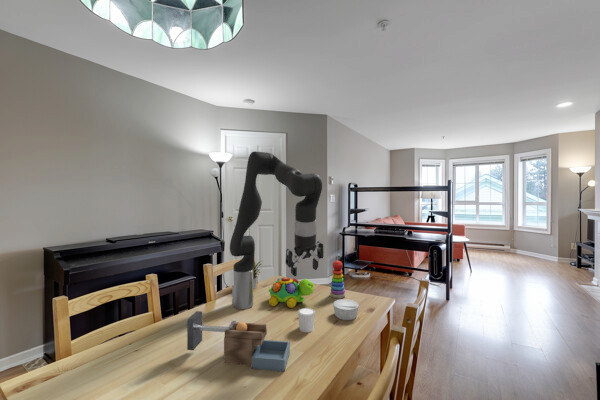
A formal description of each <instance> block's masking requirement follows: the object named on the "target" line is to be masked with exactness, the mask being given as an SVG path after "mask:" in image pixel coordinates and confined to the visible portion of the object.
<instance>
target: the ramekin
mask: <svg viewBox="0 0 600 400" xmlns="http://www.w3.org/2000/svg"><path fill="white" fill-rule="evenodd" d="M332 306H333V310H334V312H333V313H334V315H335V317H336V318H337V319H340V320H342V321H343V320H344V321H352V320H355V319H356V318H357V316H358V313H359V312H358V311H359V308H360V305H359V303H358V302H356V301H355V300H353V299H345V298H339V299H337V300H335V301H333V304H332Z"/></svg>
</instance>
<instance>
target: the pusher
mask: <svg viewBox="0 0 600 400" xmlns="http://www.w3.org/2000/svg"><path fill="white" fill-rule="evenodd" d="M231 322H232V323H231ZM231 322H230V324H229V325H228V326H219V325H218V326H217V325H205V324H204V325H203V311H202V310H201V311H199V310H196V311H195V312H193V314H191V316H189V317H188V318H187V320H186V327H187V333H186V334H187V335H186V337H187V339H186V343H187V351H194V350H195V349H196V348H197V347H198V346H199V345H200V344H201V342H203V332H219V333H225V330H236V322H237V320H232V321H231Z"/></svg>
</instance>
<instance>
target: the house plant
mask: <svg viewBox="0 0 600 400" xmlns="http://www.w3.org/2000/svg"><path fill="white" fill-rule="evenodd" d="M263 261H264V260H260V261H258V262H255V260H254V265H253V290H255V289H256V288H257V284H258V277H259V275H260V274H261V271H260V270H261V269H262V267H261V265H262V263H261V262H263ZM260 267H261V268H260ZM257 275H258V276H257Z"/></svg>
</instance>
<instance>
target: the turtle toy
mask: <svg viewBox="0 0 600 400" xmlns="http://www.w3.org/2000/svg"><path fill="white" fill-rule="evenodd" d="M268 292H269V295H270V298H269V299H268V303H269V305H270V306H271V307H276V306H277V305H278V304H279V302H280V303H286V305H287V307H288V308H290V309H293V308H295V306H296V305H297V303H303V302H304V301H305V299H304V296H306V297H307V296H310V295H312V294H313V293H314V292H315V287H314V282H312V281H310V280H309V279H307V278H302V279H301V280H300V281H299V280H298V279H296V278H292V279H291V277H289V276H285V277H279V278H278V279H277V280H276V281H275V282H273V284H272V286H271V288H268Z"/></svg>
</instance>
